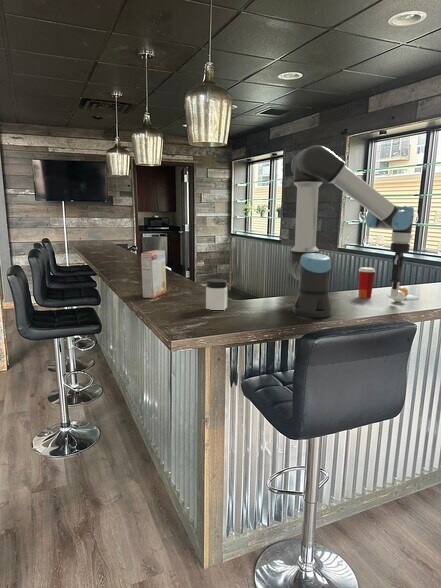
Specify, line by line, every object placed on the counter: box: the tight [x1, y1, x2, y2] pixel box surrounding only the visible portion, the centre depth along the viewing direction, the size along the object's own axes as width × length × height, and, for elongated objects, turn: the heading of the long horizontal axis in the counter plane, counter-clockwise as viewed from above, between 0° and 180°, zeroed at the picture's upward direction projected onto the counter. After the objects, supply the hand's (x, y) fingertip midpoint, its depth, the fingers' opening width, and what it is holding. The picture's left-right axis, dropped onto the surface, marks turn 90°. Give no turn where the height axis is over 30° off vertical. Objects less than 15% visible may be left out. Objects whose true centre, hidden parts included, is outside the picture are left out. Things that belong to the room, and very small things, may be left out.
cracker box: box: [140, 249, 167, 299], centre depth 193 cm, size 14×6×21 cm, turn 162°
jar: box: [205, 278, 228, 311], centre depth 169 cm, size 9×8×12 cm
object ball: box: [399, 286, 409, 297], centre depth 196 cm, size 6×6×6 cm
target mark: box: [386, 293, 420, 301], centre depth 200 cm, size 14×14×1 cm
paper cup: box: [357, 266, 376, 299], centre depth 197 cm, size 8×8×14 cm
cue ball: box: [391, 290, 405, 303], centre depth 187 cm, size 6×6×6 cm
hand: (394, 296), depth 183 cm, fingers closed
